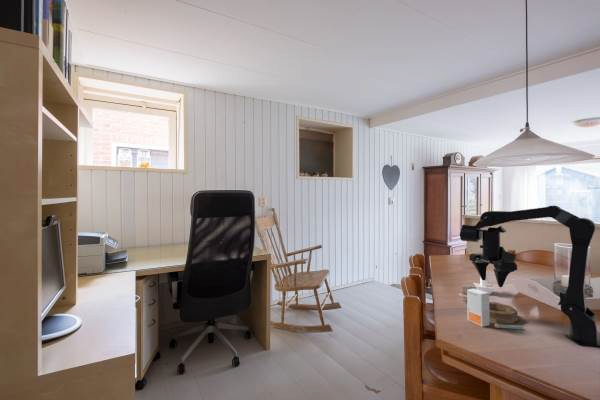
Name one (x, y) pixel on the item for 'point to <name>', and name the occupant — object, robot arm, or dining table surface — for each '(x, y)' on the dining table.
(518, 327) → the teal thin rod
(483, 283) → the figurine
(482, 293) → the skincare box
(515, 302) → the dining table surface
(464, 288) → the architectural model
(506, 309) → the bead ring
